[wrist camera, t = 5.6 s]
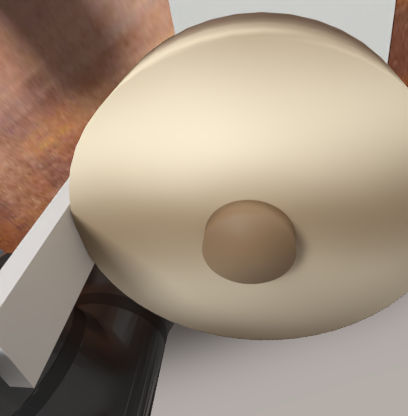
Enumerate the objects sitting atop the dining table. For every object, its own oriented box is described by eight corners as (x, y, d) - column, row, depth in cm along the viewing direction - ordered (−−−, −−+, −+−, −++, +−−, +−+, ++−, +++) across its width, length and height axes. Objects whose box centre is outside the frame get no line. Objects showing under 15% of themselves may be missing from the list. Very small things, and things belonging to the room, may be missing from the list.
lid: (391, 282, 16) (420, 363, 13) (143, 284, 18) (121, 353, 16) (462, -19, 9) (555, 10, 6) (52, 40, 12) (-19, 81, 9)
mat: (373, 156, 33) (374, 158, 33) (202, 169, 37) (201, 171, 36) (413, -140, 22) (414, -141, 21) (153, -83, 25) (152, -83, 24)
